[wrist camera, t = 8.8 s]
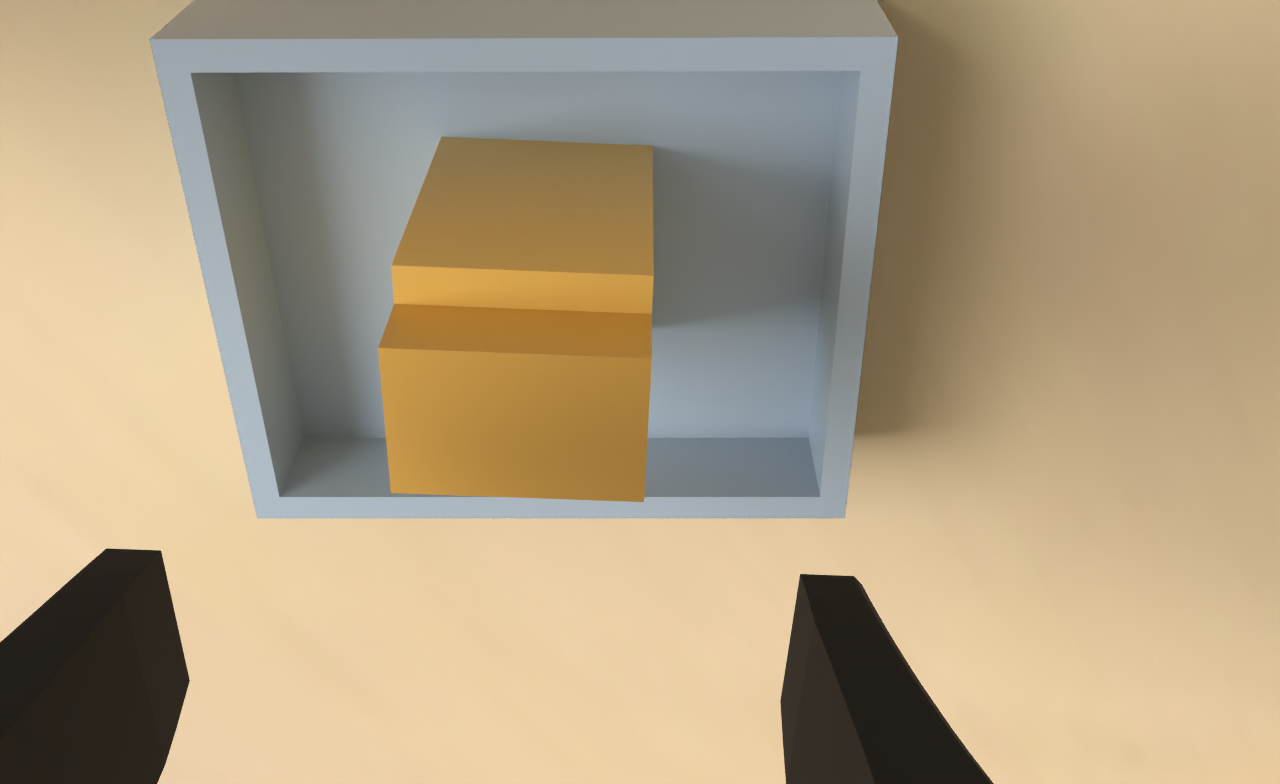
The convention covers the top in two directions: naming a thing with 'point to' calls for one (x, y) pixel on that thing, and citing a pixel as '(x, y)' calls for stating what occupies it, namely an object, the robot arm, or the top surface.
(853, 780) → the robot arm
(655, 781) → the top surface
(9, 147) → the top surface
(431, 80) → the parts tray
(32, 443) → the top surface
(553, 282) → the block
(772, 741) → the top surface
